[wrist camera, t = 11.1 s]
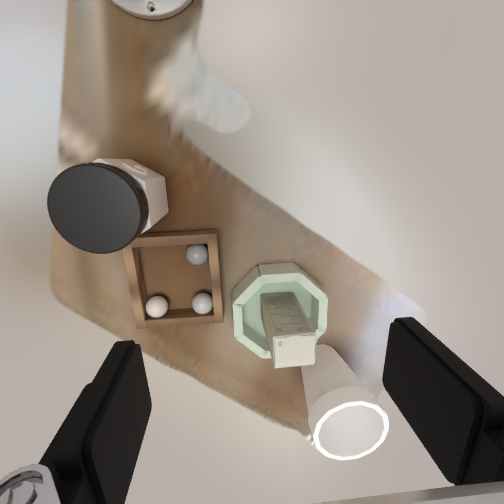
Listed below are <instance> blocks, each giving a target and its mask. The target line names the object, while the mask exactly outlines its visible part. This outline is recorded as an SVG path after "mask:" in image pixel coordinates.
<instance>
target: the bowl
mask: <svg viewBox="0 0 504 504" xmlns="http://www.w3.org/2000/svg"><path fill="white" fill-rule="evenodd" d="M290 291H292V292H294V294H295V296H296V298H297V299H298V301H299V303H300V305H301V307H302V309H303V310H304V312H305V314H306V316H307V317H308V319H309V321H310V323H311V325H312V326H313V328H314V330H315V331H316V333H317V339H318V338H319V337H320V336H321V335H322V334H323V333H324V332H325V330H326V324H327V303H328V297H327V295H326V294H325V293H324V291H323V290H322V288H321V287H320V286H319V284H318V283H317V282H315V281H314V280H313V279H312V278H311V277H310V276H309V275H308V274H307V273H305V272H304V271H303V270H302V269H301V268H300V267H299V266H298V265H296V264H295V263H293V262H291V263H275V264H259V265H258V266H257V265H256V266H255V267H254V268H253V269H252V270H251V272H250V273H249V274H248V275H247V276H246V277H245V278H244V279H243V280H242V281H241V282H240V283H239V284H238V285H237V286H236V287H235V288H234V289H233V291H232V302H233V319H234V334H235V337H236V339H237V340H238V341H239V342H241V343H242V344H243V345H245V346H246V347H248V348H249V349H250V350H252V351H253V352H254V353H256V354H257V355H258V356H260V357H261V358H264V359H265V358H271V354H270V350H269V347H268V343H267V339H266V335H265V331H264V327H263V323H262V320H261V309H260V295H261V294H264V293H275V292H290Z"/></svg>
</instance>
